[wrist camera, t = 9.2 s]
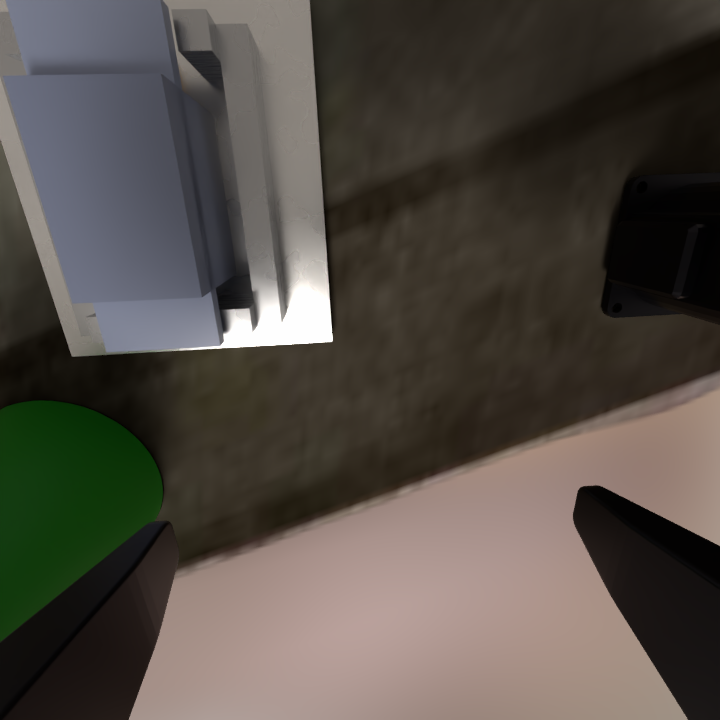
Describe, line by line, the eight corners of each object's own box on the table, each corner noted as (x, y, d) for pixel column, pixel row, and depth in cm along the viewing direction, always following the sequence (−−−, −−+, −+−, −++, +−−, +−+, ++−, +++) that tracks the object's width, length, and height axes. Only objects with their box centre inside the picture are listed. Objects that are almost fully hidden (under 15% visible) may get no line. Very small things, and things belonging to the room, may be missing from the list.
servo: (204, 52, 14) (143, -25, 10) (243, 317, 18) (212, 356, 13) (90, 53, 14) (-28, -24, 9) (153, 322, 18) (90, 362, 13)
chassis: (310, 8, 15) (304, -59, 11) (332, 335, 20) (332, 364, 16) (-22, 12, 14) (-146, -58, 10) (84, 349, 19) (24, 383, 15)
